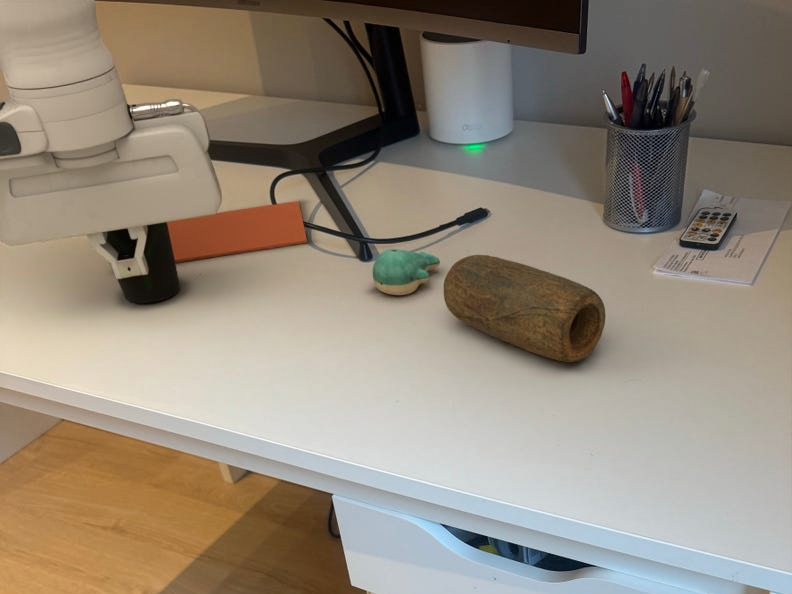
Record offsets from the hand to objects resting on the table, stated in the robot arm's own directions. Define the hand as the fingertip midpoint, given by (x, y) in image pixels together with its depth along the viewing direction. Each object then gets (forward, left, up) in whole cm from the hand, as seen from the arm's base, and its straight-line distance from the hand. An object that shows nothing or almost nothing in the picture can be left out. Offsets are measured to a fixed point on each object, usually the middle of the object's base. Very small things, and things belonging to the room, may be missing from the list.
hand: (133, 274), depth 86 cm
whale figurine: (+26, -3, -4) cm, 26 cm away
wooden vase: (+34, -18, -4) cm, 38 cm away
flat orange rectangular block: (+7, +17, -4) cm, 19 cm away
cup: (0, +4, -4) cm, 6 cm away
